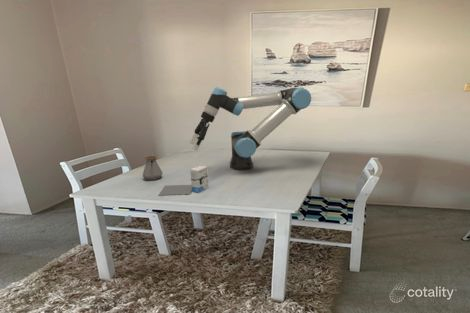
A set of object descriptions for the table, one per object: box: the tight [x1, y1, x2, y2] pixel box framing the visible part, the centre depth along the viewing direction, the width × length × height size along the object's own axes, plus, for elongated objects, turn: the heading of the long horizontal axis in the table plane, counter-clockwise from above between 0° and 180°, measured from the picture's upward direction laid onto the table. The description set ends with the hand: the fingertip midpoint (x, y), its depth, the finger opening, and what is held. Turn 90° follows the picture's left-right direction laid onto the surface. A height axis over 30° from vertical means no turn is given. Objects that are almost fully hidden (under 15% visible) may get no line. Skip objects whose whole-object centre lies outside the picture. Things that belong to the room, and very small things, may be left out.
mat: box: [158, 184, 193, 197], centre depth 157 cm, size 16×14×1 cm
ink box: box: [190, 165, 209, 193], centre depth 155 cm, size 8×5×12 cm, turn 149°
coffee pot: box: [142, 155, 164, 181], centre depth 172 cm, size 21×12×15 cm, turn 18°
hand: (193, 146), depth 174 cm, fingers open, 13 cm apart
